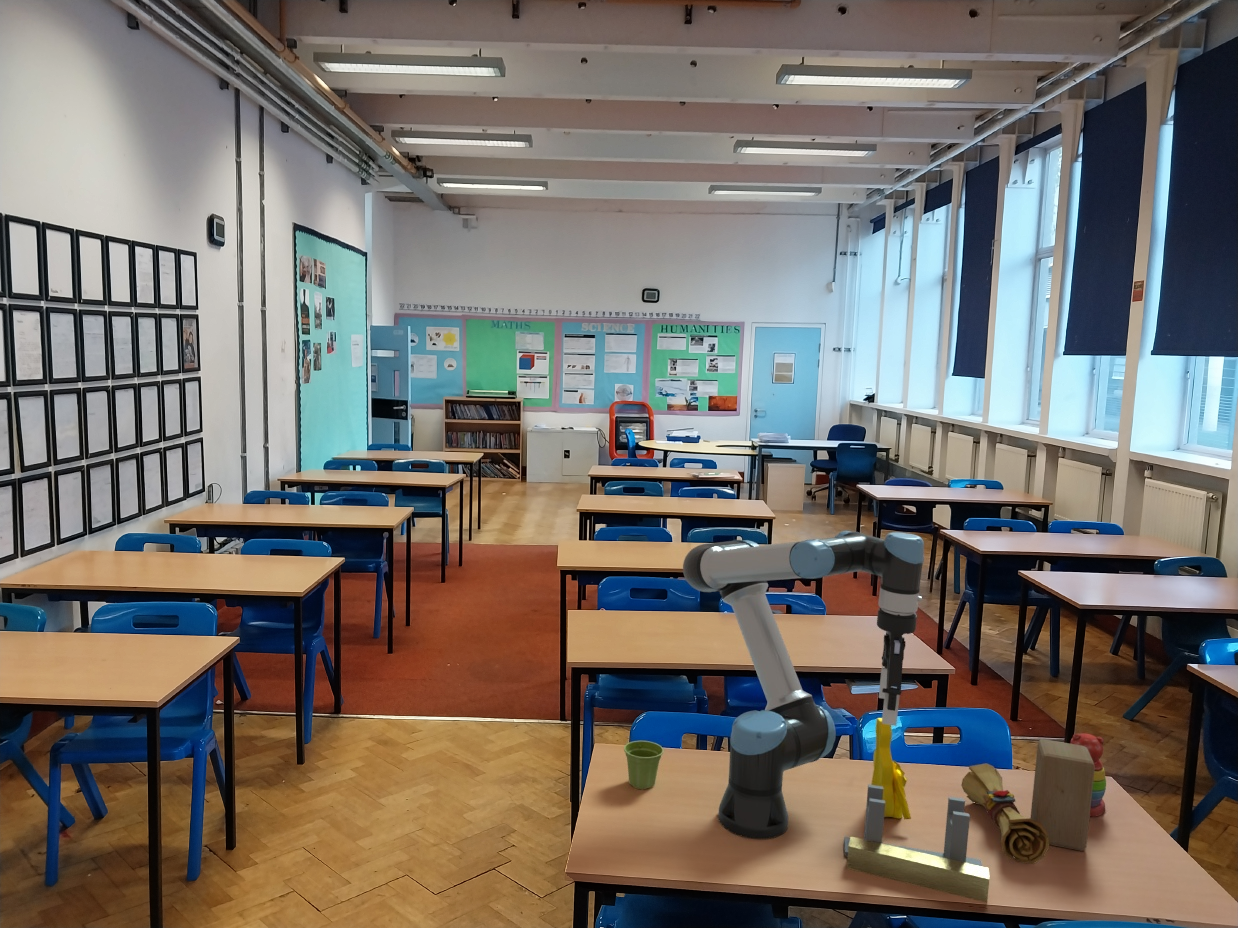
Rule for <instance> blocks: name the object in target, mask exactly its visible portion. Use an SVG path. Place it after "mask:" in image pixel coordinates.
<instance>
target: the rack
mask: <svg viewBox="0 0 1238 928" xmlns="http://www.w3.org/2000/svg"><path fill="white" fill-rule="evenodd" d="M882 799H883V787H882V786H876V785H871V784H867V795H866V806H865V817H864V819H865V820H864V821H865V822H864V833H863V839H864V840H869V841H873V842H877V843H882V844H886V845H890V846H895V847H899V848H903V849H908V850H912V851H916V852H921V853H925V854H929V855H934V856H938V857H942V858H947V859H951V860H956V861H960V862H964V863H969V864H973V865H977V866H982V867H984V866H983V863H982V860H981V859H980V858H973V857H968V856H967V851H968V841H969V840H968V838H969V831H970V821H971V820H970V819H971V816H970V813H968V812H965V806H966V800H965V798H963V797H962V798H960V797H954V796H948V799H947V800H948V802H947V812H946V823H945V824H946V825H945V834H944V844H943V845H944V846H943V852H938V851H933V850H927V849H926V850H925V849H919V848H914V847H908V846H907V847H906V846H903V845H902V846H901V845H897V844H891V843H890V844H889V843H884V842H883V836H884V835H883V834H884V833H883V832H884V822H885V817H884V811H885V801H884V800H882ZM849 841H850V837H848V836H844V839H843V847H844V848H843V849H844V857H846V858H848V846H849Z"/></svg>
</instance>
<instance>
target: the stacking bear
mask: <svg viewBox="0 0 1238 928" xmlns="http://www.w3.org/2000/svg"><path fill="white" fill-rule="evenodd" d="M1104 743H1105V741H1104V738H1103V737H1101V736H1096V735H1093V734H1091V733H1084V732H1082V733H1074V734H1073V735H1072V738H1071V740H1070V743H1069V744H1075V745H1081V746H1085V747H1087V749H1088V751H1089V753H1090V756H1091V758H1092V760H1093V762H1094V765H1095V770H1094V779H1093V789H1092V798H1091V807H1090V817H1093V818H1094V817H1099V816H1101V815H1102V814H1104V813H1105V811H1106V803H1105V801H1104V800H1103V798H1104V796H1105V794H1106V789H1107V778H1106V771H1105V767H1104V765H1103V763H1102V762H1101V757H1102V756H1103V754H1104V746H1103V744H1104ZM1090 817H1089V818H1090Z"/></svg>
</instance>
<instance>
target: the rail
mask: <svg viewBox="0 0 1238 928" xmlns="http://www.w3.org/2000/svg"><path fill="white" fill-rule="evenodd" d="M849 838H850V841H849V846H848V857H846V859H847V861H846V869H849V870H853V871H857V872H861V873H864V874H869V875H872V876H873V875H874V876H877V877H881V878H884V879H889V880H893V881H897V882H901V883H906V884H910V885H914V886H916V887H917V886H918V887H922V888H926V889H930V890H935V891H937V892H938V891H939V892H942V893H945V894H946V893H947V894H951V895H954V896H958V897H962V898H963V897H964V898H966V899H971V900H973V901H974V900H975V901H979V902H983V903H988V898H989V887H990V870H989V867H987V866H986V867H985V866H983V865H982V866H983V867H982V866H977V865H973V864H969V863H964V862H960V861H956V860H951V859H947V858H942V857H938V856H934V855H929V854H925V853H921V852H916V851H912V850H908V849H903V848H899V847H895V846H890V845H886V844H887V843H885V844H882V843H883V842H882V843H877V842H873V841H869V840H864V838H860V837H855V836H850V837H849Z"/></svg>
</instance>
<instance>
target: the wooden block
mask: <svg viewBox="0 0 1238 928" xmlns="http://www.w3.org/2000/svg"><path fill="white" fill-rule="evenodd" d="M1036 748H1037V749H1036V759H1035V768H1034V779H1033V789H1032V798H1031V799H1032V800H1031V809H1030V810H1031V811H1030V818H1031V819H1032V820H1034V821H1036V822H1038V823H1040V824H1041V825H1042V826H1043V827H1044V829H1045V830H1046V831H1047V833H1048V834H1046V835H1047V836H1048V837H1049V846H1050V845H1051V846H1056V847H1061V848H1066V849H1071V850H1075V851H1080V852H1081V851H1082V852H1083V851H1085V850H1086V848H1087V842H1088V836H1089V835H1088V834H1089V824H1090V807H1091V798H1092V789H1093V779H1094V770H1095V765H1094V762H1093V760H1092V758H1091V756H1090V753H1089V751H1088V749H1087V747H1085V746H1081V745H1075V744H1070V743H1068V742H1063V741H1057V740H1051V739H1045V738H1041V739H1039V740H1038V741H1037V747H1036Z"/></svg>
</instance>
